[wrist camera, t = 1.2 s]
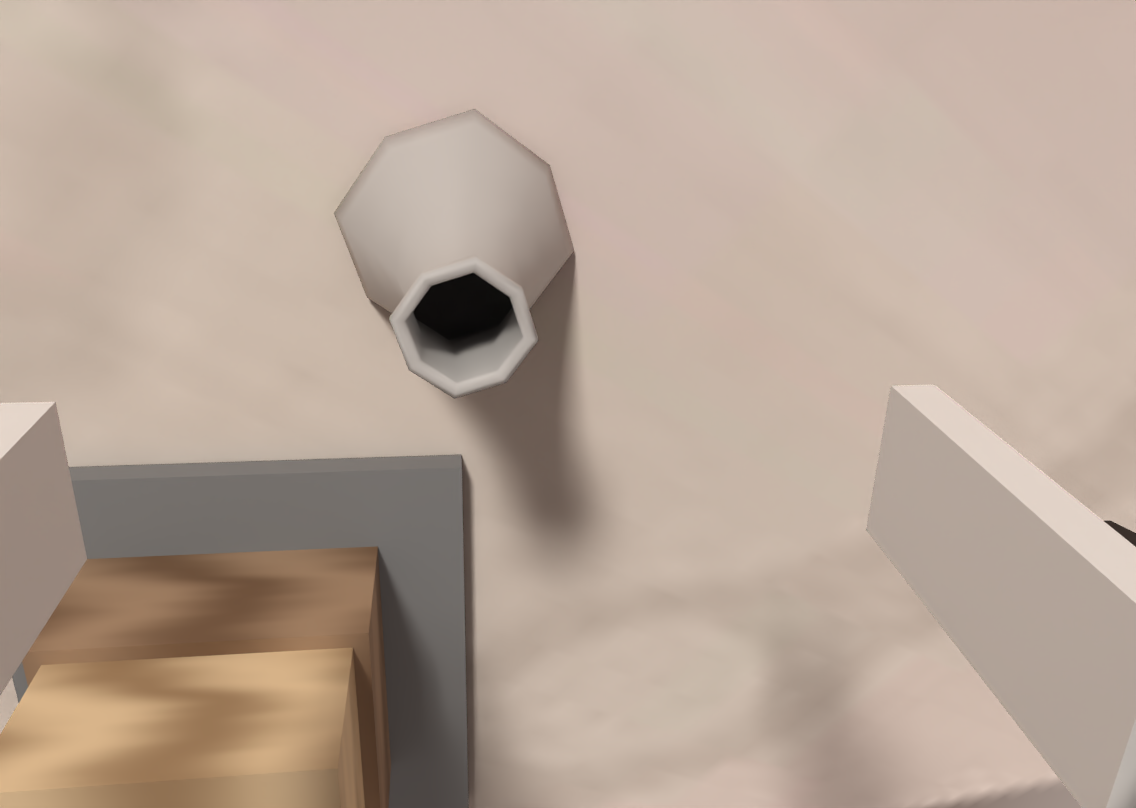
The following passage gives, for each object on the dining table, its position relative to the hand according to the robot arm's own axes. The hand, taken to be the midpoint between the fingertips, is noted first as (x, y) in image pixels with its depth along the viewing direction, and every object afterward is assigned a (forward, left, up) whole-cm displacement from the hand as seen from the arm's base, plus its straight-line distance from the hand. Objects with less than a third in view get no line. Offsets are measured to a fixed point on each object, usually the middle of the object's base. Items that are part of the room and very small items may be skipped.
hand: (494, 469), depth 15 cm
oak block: (-8, -16, -11) cm, 21 cm away
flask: (0, 0, -17) cm, 17 cm away
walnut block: (-8, -16, -16) cm, 24 cm away
